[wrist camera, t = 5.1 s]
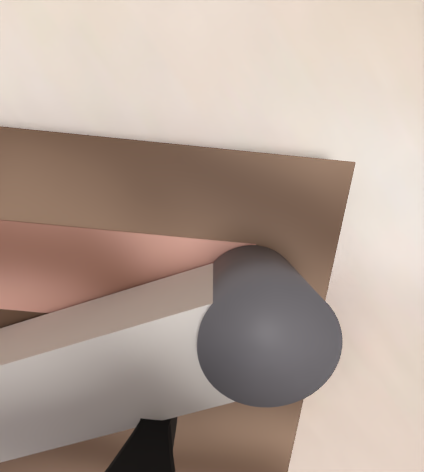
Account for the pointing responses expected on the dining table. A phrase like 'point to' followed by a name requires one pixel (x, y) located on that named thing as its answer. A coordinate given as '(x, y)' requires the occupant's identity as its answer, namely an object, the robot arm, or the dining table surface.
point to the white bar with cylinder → (166, 352)
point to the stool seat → (158, 256)
